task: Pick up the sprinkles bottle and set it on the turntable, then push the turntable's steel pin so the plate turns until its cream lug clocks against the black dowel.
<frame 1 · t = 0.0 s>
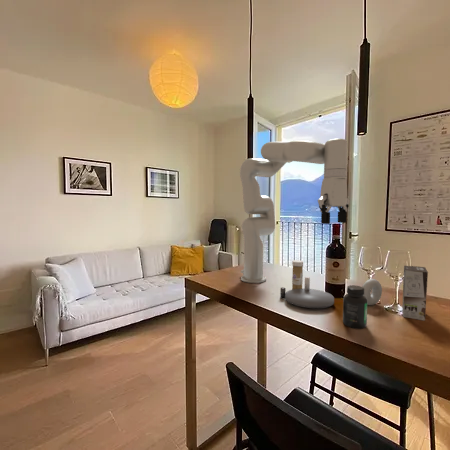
hand: (333, 223, 99), 31 cm above the table, tool pointing down, fingers open, 9 cm apart
turntable: (308, 290, 107), point 4 cm above the table, hinge at 0.0°
sprinkles bottle: (297, 291, 121), on the table
donut: (370, 305, 104), on the table
supplement bottle: (354, 325, 87), on the table
coffee box: (413, 315, 95), on the table
stop dowel: (282, 297, 112), on the table
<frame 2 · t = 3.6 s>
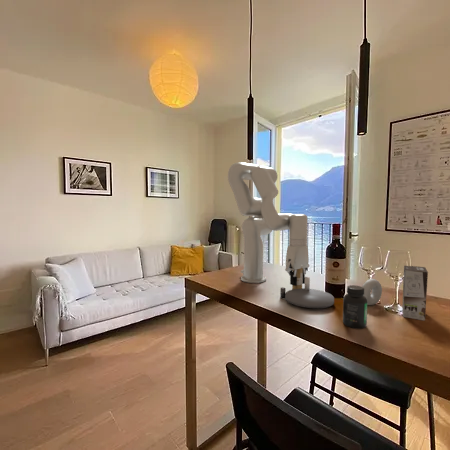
hand: (297, 283, 120), 3 cm above the table, tool pointing down, fingers closed on sprinkles bottle, 4 cm apart
sprinkles bottle: (297, 291, 121), on the table, touching gripper
everything else where it was.
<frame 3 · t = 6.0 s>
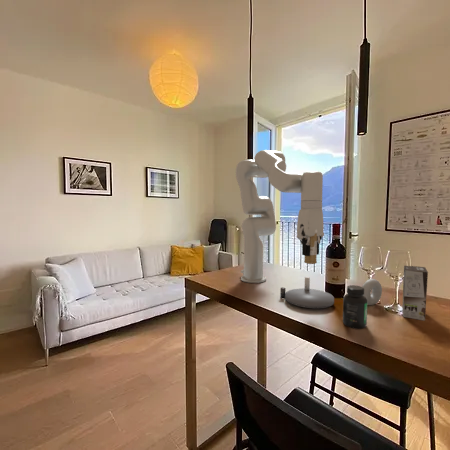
hand: (310, 254, 103), 19 cm above the table, tool pointing down, fingers closed on sprinkles bottle, 4 cm apart
sprinkles bottle: (310, 263, 103), point 16 cm above the table, touching gripper
everything else where it was.
when the fingers open (7 cm above the table, at t = 8.6 s): sprinkles bottle drops 1 cm, resting on turntable.
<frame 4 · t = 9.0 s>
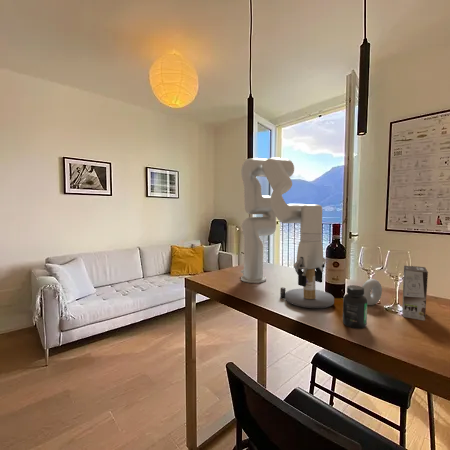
hand: (310, 283, 103), 8 cm above the table, tool pointing down, fingers open, 8 cm apart
turntable: (308, 290, 107), point 4 cm above the table, hinge at 0.1°, touching sprinkles bottle
sprinkles bottle: (309, 298, 104), point 3 cm above the table, touching turntable
everything else where it was.
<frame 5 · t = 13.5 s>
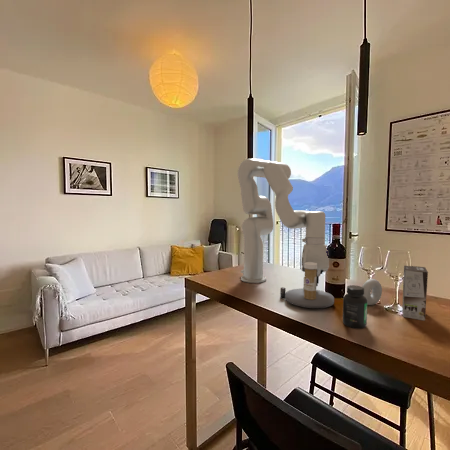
hand: (314, 285, 114), 5 cm above the table, tool pointing down, fingers closed
turntable: (308, 290, 107), point 4 cm above the table, hinge at 3.1°, touching gripper, sprinkles bottle
everything else where it was.
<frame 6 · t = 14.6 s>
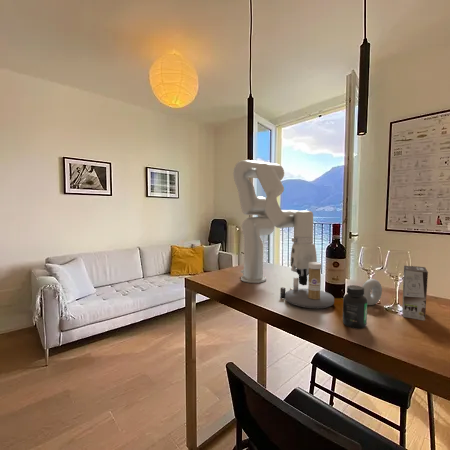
hand: (302, 284, 114), 5 cm above the table, tool pointing down, fingers closed
turntable: (307, 290, 107), point 4 cm above the table, hinge at 35.2°, touching gripper, sprinkles bottle
sprinkles bottle: (314, 298, 104), point 3 cm above the table, touching turntable
everything else where it was.
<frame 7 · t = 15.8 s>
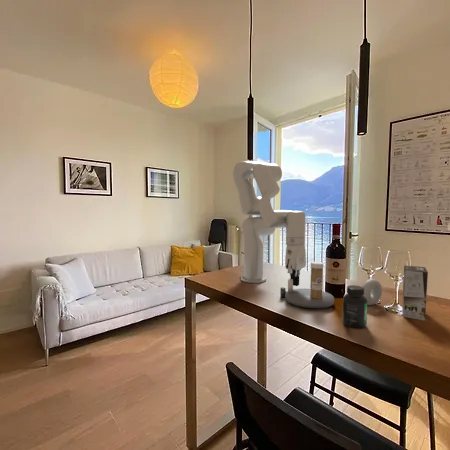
hand: (294, 285, 114), 5 cm above the table, tool pointing down, fingers closed
turntable: (306, 290, 107), point 4 cm above the table, hinge at 60.4°, touching gripper, sprinkles bottle, stop dowel
sprinkles bottle: (316, 297, 105), point 3 cm above the table, touching turntable
everything else where it was.
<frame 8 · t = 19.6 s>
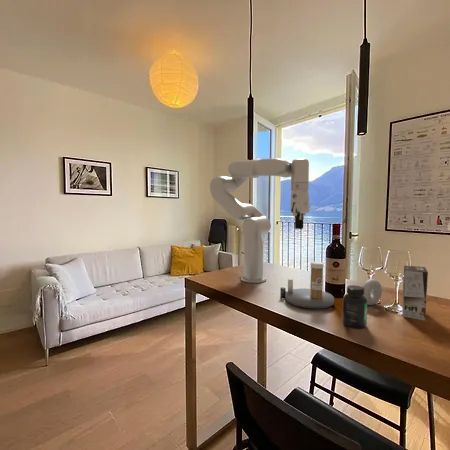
hand: (299, 228, 123), 27 cm above the table, tool pointing down, fingers closed
turntable: (306, 290, 107), point 4 cm above the table, hinge at 60.4°, touching sprinkles bottle, stop dowel
everything else where it was.
at the end: turntable at +60° (first picture: +0°); sprinkles bottle inside the target area on the turntable (2.9 cm from its centre), point 2.5 cm above the turntable's base; sprinkles bottle tilted 0° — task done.
